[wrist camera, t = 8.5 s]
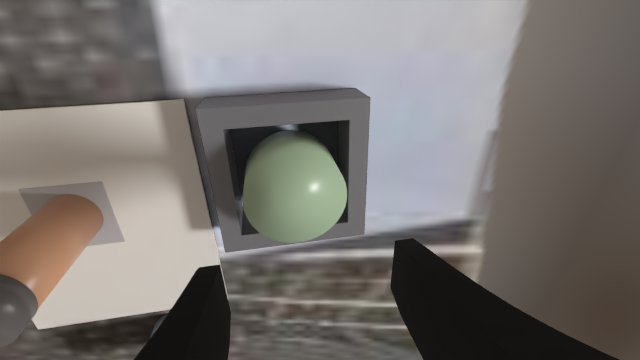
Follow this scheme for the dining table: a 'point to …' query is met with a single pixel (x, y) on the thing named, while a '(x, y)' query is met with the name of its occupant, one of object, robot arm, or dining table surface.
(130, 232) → the paper
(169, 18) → the dining table surface
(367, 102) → the button housing
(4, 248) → the marker terracotta
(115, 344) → the dining table surface
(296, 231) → the button
